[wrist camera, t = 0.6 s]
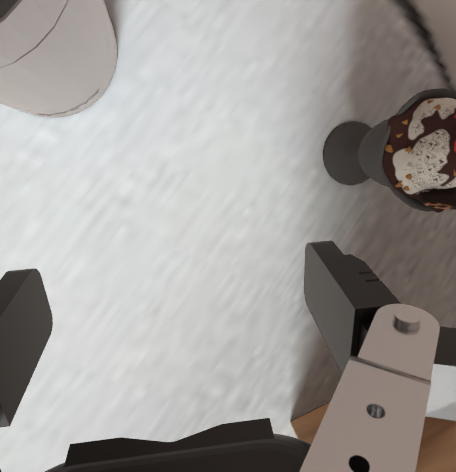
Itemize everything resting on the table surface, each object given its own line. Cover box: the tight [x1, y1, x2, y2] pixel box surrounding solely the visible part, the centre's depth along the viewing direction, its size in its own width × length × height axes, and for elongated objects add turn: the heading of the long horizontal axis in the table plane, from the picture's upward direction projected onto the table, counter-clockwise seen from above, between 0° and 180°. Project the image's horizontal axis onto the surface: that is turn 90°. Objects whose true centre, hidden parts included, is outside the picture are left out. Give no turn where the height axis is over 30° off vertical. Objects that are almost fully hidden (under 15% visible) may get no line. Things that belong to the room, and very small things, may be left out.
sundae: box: [323, 89, 456, 213], centre depth 25 cm, size 7×7×15 cm
